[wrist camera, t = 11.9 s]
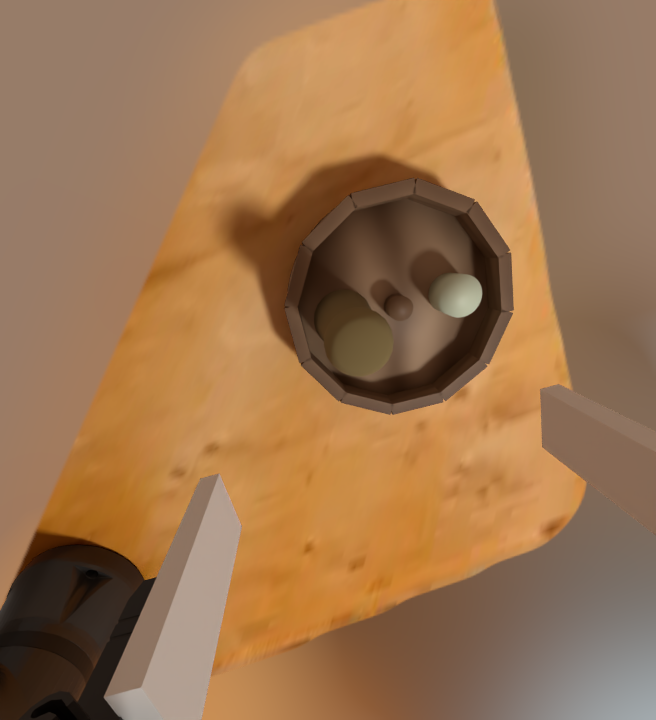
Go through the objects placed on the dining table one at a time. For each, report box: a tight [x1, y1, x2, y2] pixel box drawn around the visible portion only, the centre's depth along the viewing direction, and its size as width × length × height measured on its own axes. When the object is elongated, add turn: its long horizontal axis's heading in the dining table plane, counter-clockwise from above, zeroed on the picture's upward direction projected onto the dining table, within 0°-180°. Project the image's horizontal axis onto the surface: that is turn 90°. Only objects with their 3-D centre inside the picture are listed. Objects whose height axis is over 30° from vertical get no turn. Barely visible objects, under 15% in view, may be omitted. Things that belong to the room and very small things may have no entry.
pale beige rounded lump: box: [428, 273, 482, 318], centre depth 32 cm, size 4×4×3 cm
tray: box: [284, 178, 514, 415], centre depth 32 cm, size 22×22×3 cm
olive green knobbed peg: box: [314, 289, 394, 377], centre depth 28 cm, size 6×6×11 cm
